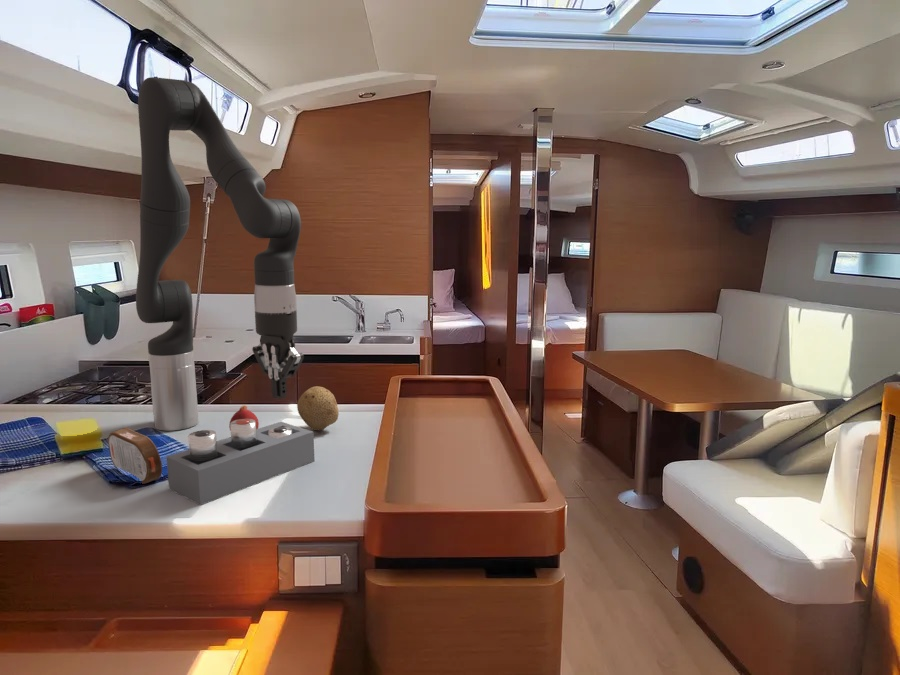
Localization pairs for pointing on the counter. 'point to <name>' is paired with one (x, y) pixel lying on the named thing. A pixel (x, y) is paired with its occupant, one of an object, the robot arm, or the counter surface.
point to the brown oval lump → (318, 408)
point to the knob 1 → (202, 445)
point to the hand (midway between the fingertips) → (279, 397)
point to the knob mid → (243, 433)
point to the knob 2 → (279, 432)
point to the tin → (135, 454)
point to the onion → (244, 415)
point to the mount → (239, 464)
